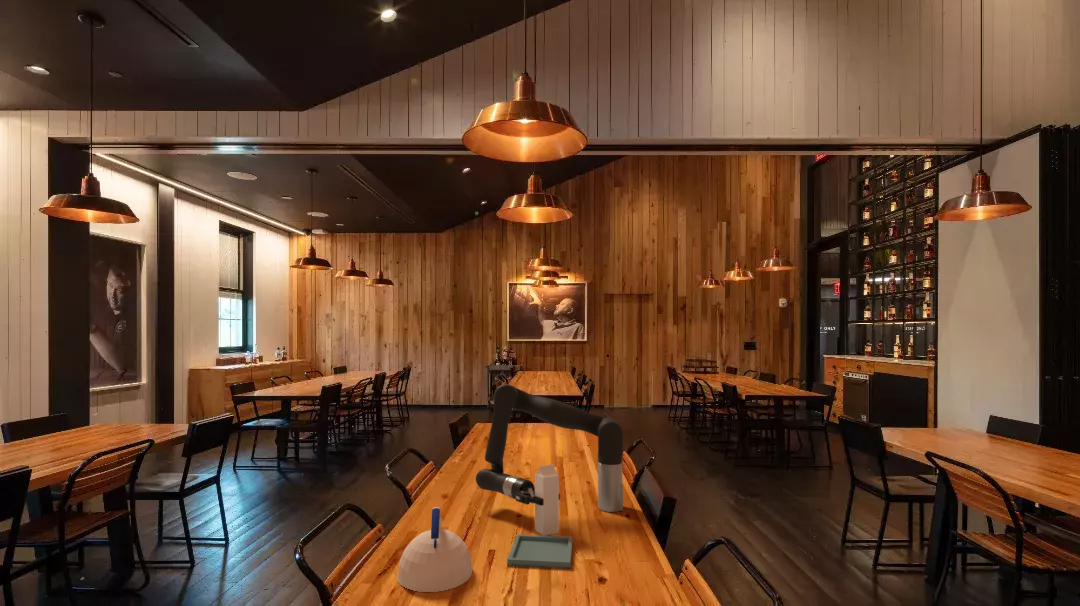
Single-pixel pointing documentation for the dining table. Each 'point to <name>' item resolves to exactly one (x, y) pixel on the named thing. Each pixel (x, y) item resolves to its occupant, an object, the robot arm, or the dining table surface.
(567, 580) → the dining table surface
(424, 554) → the dome with blue handle
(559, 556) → the tray
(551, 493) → the milk
